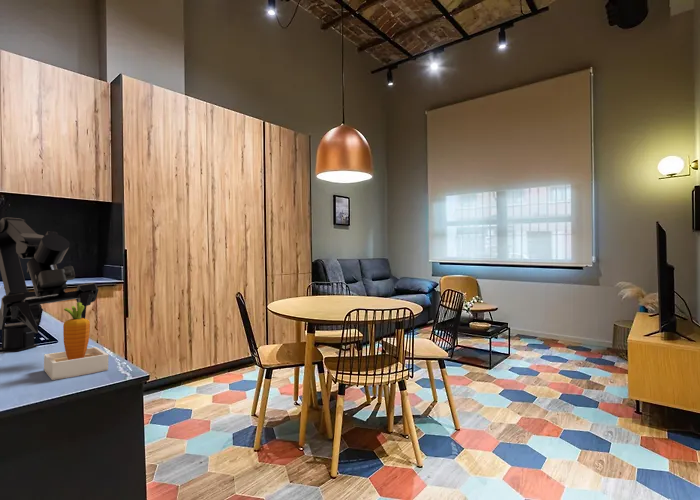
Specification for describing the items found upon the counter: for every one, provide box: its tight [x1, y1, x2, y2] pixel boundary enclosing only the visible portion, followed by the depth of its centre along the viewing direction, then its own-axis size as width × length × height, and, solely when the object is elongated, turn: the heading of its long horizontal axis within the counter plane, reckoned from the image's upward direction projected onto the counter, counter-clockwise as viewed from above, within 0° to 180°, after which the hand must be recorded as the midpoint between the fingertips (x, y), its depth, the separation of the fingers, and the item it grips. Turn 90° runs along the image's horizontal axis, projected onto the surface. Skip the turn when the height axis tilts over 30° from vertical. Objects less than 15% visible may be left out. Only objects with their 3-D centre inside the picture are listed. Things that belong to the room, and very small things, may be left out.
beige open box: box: [43, 346, 110, 381], centre depth 86 cm, size 10×10×4 cm
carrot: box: [62, 302, 91, 360], centre depth 87 cm, size 5×5×15 cm
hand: (61, 327), depth 91 cm, fingers open, 9 cm apart
